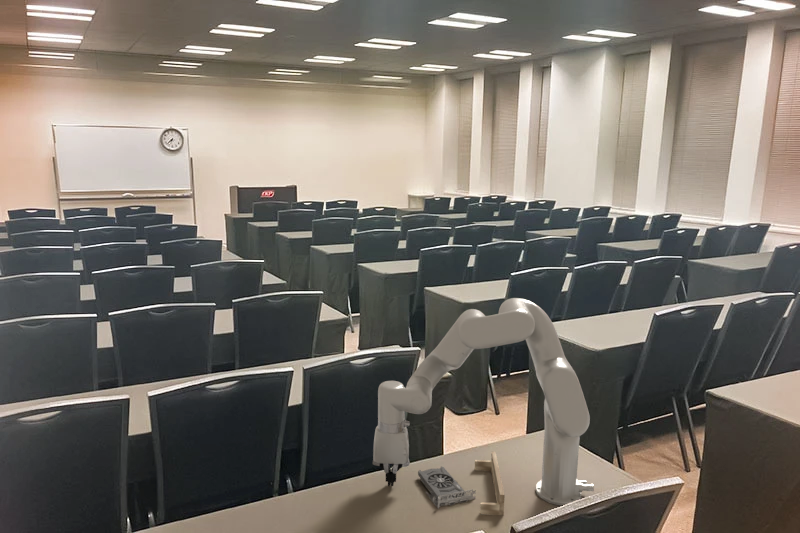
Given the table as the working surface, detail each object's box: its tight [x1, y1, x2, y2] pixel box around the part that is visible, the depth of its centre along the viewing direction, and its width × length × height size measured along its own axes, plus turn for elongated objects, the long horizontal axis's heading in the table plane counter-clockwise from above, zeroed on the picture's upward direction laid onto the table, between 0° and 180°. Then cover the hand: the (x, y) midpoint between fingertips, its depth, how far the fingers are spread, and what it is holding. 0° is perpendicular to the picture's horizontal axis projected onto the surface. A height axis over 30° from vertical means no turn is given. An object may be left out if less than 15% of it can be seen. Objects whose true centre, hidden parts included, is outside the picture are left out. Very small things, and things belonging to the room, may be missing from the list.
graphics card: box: [417, 466, 477, 510], centre depth 164 cm, size 17×4×12 cm
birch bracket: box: [474, 451, 505, 516], centre depth 162 cm, size 6×23×6 cm, turn 176°
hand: (390, 483), depth 164 cm, fingers closed
